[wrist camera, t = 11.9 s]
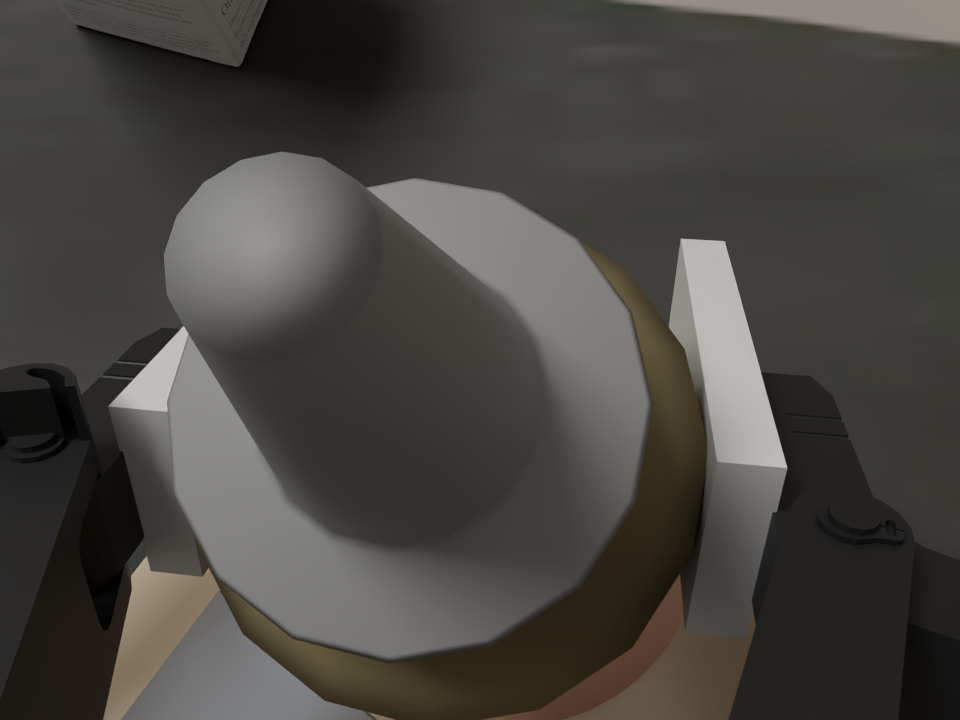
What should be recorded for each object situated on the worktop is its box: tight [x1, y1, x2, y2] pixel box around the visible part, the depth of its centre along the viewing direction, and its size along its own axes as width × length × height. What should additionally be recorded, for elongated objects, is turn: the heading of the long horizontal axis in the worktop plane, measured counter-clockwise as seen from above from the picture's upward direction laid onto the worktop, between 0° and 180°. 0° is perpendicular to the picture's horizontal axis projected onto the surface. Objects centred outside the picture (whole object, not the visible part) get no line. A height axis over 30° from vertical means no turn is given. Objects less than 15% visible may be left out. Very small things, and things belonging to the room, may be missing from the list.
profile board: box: [103, 556, 756, 720], centre depth 24 cm, size 16×24×2 cm, turn 144°
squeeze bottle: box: [164, 152, 707, 720], centre depth 13 cm, size 8×8×18 cm
